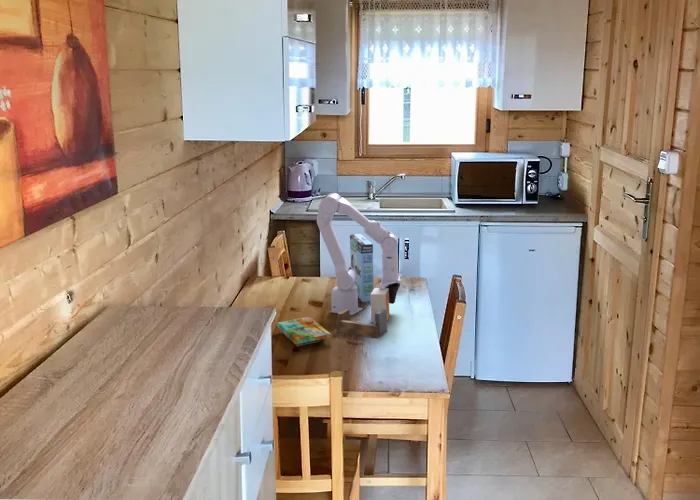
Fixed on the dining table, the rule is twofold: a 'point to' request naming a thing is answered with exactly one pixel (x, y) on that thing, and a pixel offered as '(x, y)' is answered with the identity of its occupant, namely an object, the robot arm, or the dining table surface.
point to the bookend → (381, 321)
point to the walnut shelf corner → (355, 326)
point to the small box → (379, 301)
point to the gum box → (362, 265)
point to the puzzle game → (303, 331)
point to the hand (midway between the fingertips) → (391, 303)
